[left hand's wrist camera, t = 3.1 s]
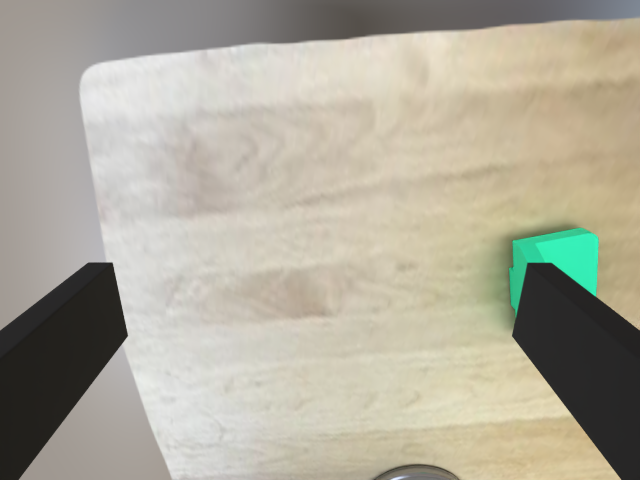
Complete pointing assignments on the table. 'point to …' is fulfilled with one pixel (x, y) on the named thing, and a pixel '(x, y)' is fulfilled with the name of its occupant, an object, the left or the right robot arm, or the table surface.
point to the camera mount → (556, 258)
